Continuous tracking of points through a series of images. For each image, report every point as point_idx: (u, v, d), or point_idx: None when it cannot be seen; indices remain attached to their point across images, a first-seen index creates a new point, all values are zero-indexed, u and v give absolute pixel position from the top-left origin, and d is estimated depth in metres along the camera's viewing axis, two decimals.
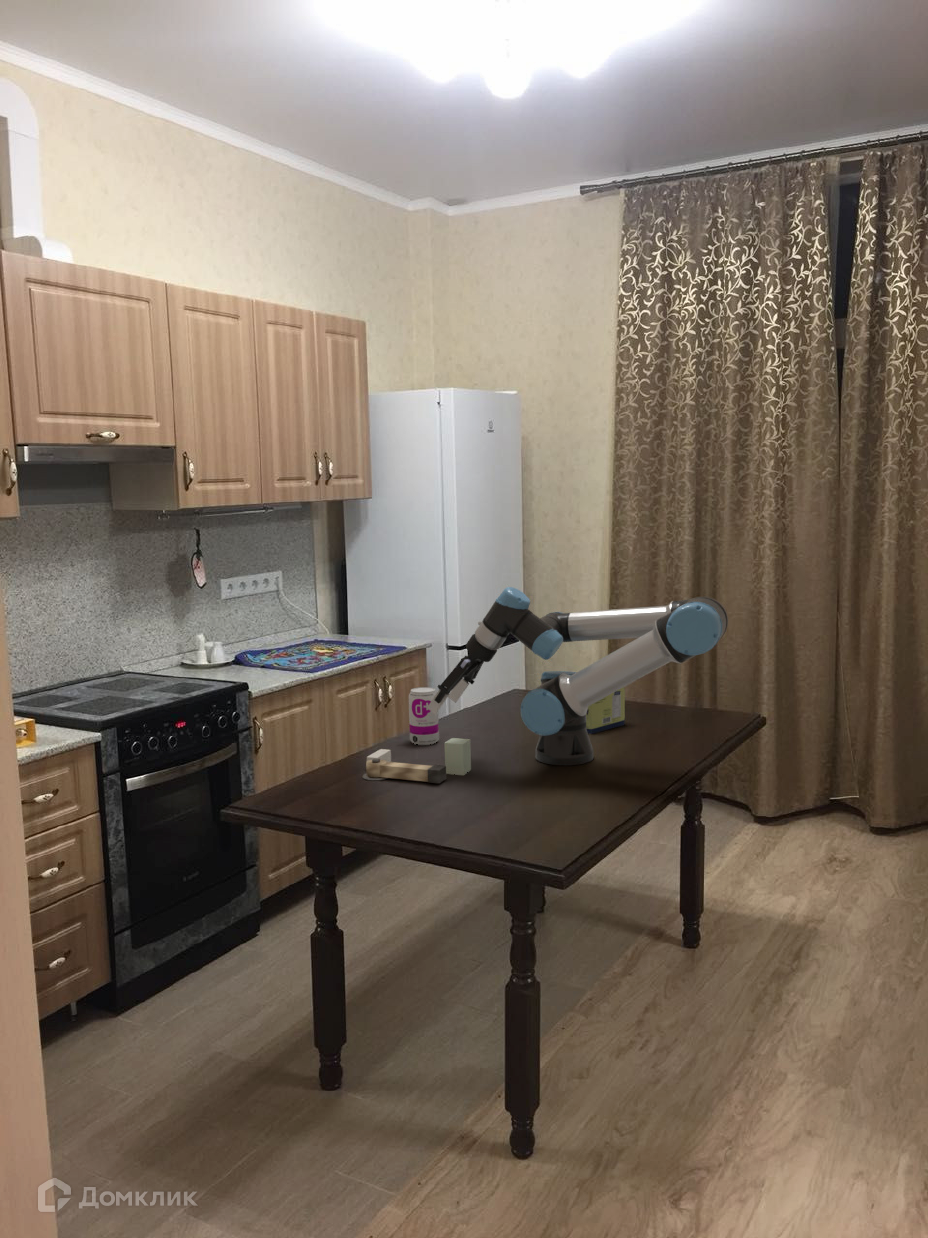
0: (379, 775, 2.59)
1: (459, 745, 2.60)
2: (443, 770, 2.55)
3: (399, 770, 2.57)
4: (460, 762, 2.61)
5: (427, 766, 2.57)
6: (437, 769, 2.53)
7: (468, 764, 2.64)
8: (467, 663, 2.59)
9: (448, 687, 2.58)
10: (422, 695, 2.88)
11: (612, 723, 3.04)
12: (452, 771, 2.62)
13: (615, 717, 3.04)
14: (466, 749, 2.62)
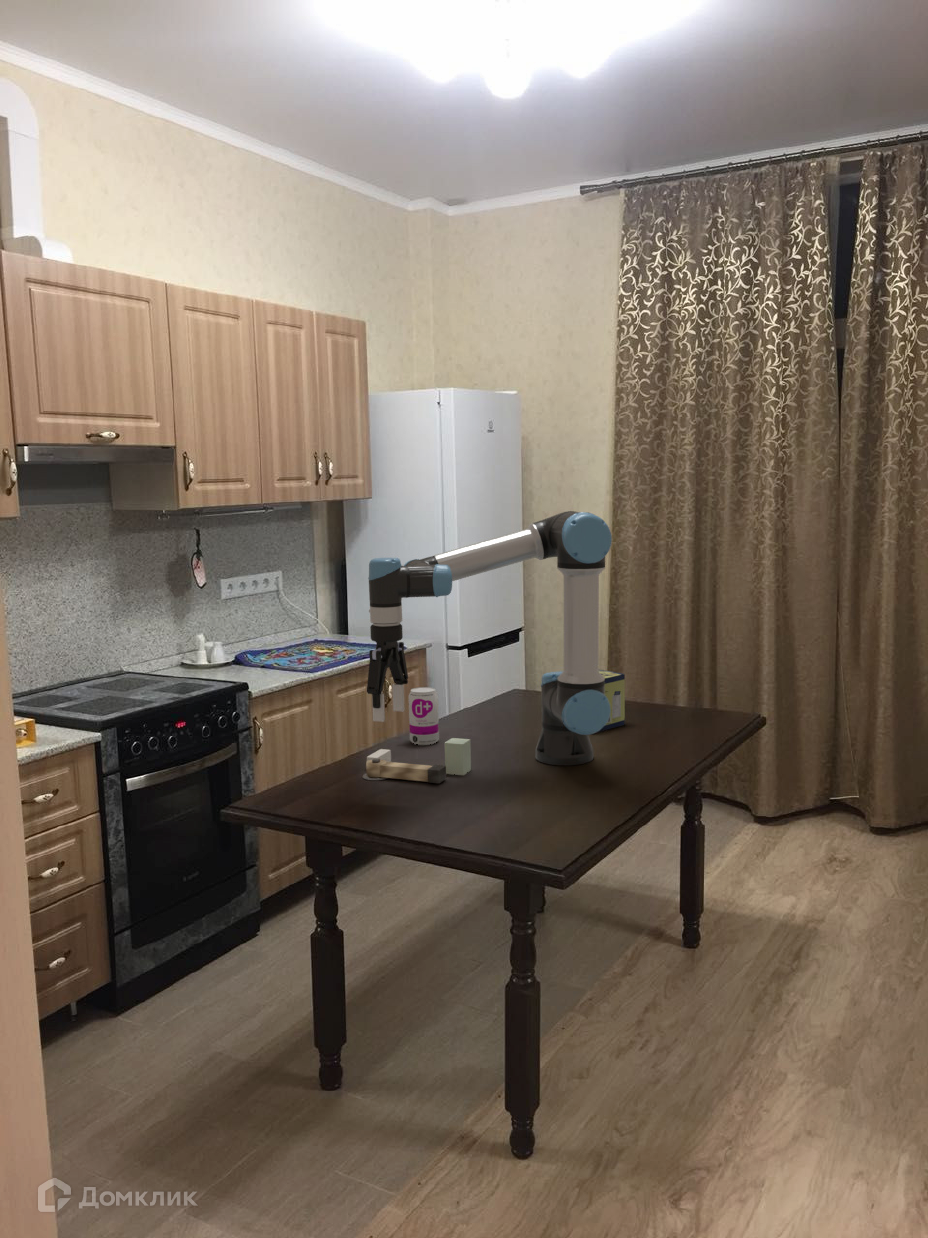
0: (379, 775, 2.59)
1: (459, 745, 2.60)
2: (443, 770, 2.55)
3: (399, 770, 2.57)
4: (460, 762, 2.61)
5: (427, 766, 2.57)
6: (437, 769, 2.53)
7: (468, 764, 2.64)
8: (376, 652, 2.40)
9: (374, 685, 2.39)
10: (422, 695, 2.88)
11: (612, 723, 3.04)
12: (452, 771, 2.62)
13: (615, 717, 3.04)
14: (466, 749, 2.62)
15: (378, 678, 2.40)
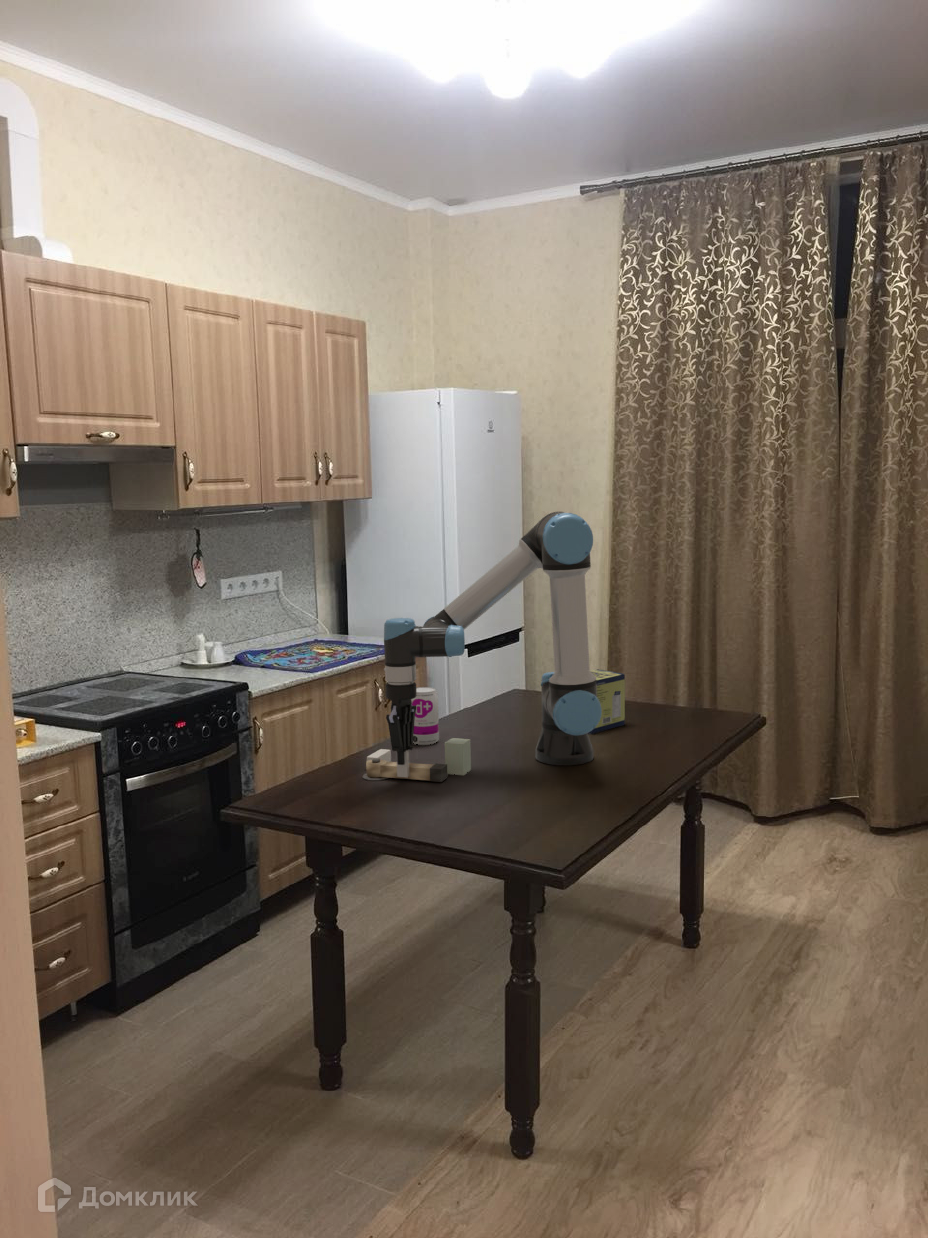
0: (380, 775, 2.59)
1: (459, 745, 2.60)
2: (444, 768, 2.56)
3: None
4: (460, 762, 2.61)
5: (428, 765, 2.58)
6: (439, 768, 2.54)
7: (468, 764, 2.64)
8: (393, 718, 2.48)
9: (398, 745, 2.52)
10: (422, 695, 2.88)
11: (612, 723, 3.04)
12: (452, 771, 2.62)
13: (615, 717, 3.04)
14: (466, 749, 2.62)
15: (400, 738, 2.51)
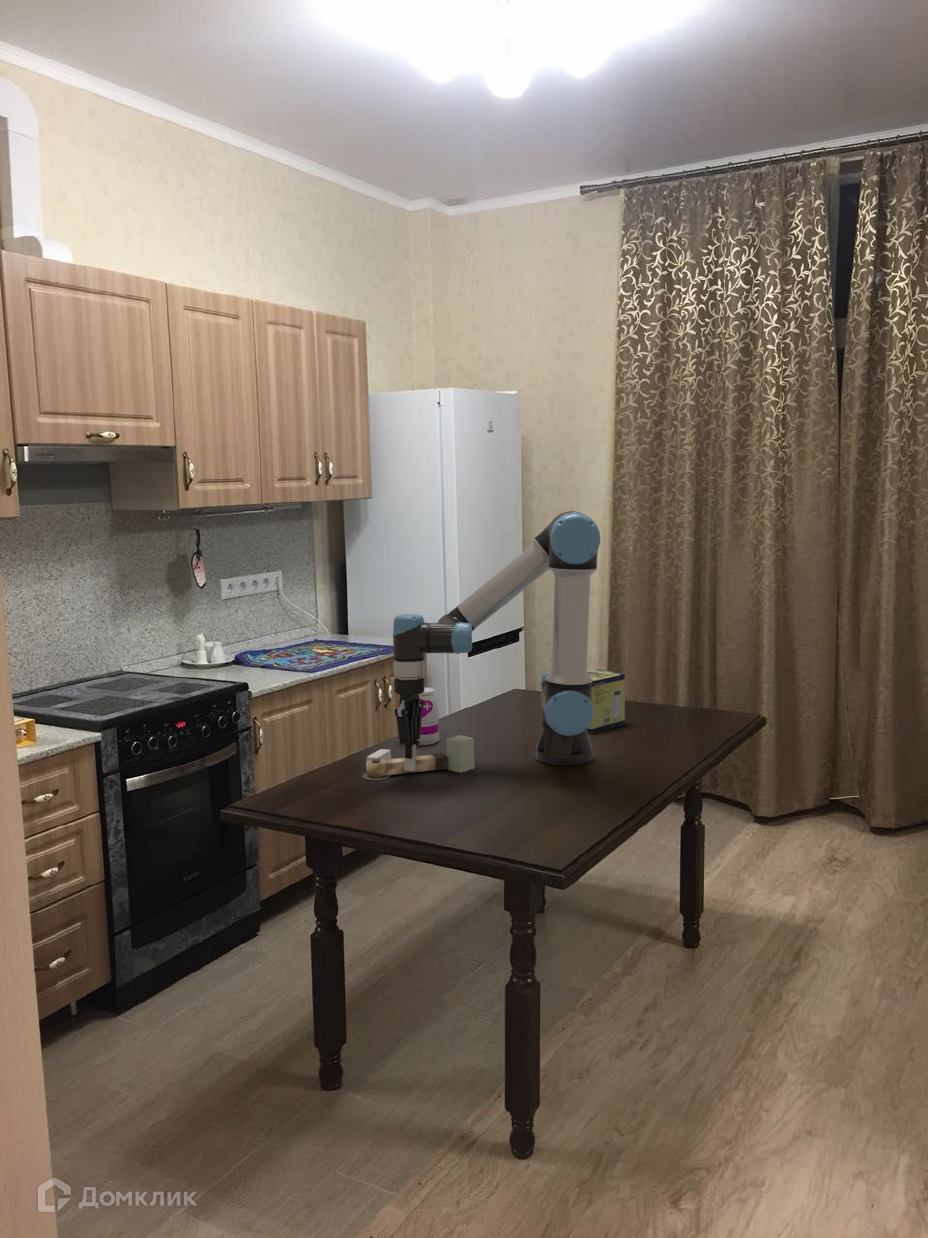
0: (385, 774, 2.60)
1: (457, 742, 2.62)
2: None
3: None
4: (458, 759, 2.63)
5: (427, 756, 2.66)
6: (443, 756, 2.65)
7: (469, 762, 2.65)
8: (401, 712, 2.53)
9: (406, 739, 2.56)
10: (422, 695, 2.88)
11: (612, 723, 3.04)
12: (452, 768, 2.65)
13: (615, 717, 3.04)
14: (466, 747, 2.64)
15: (408, 732, 2.56)
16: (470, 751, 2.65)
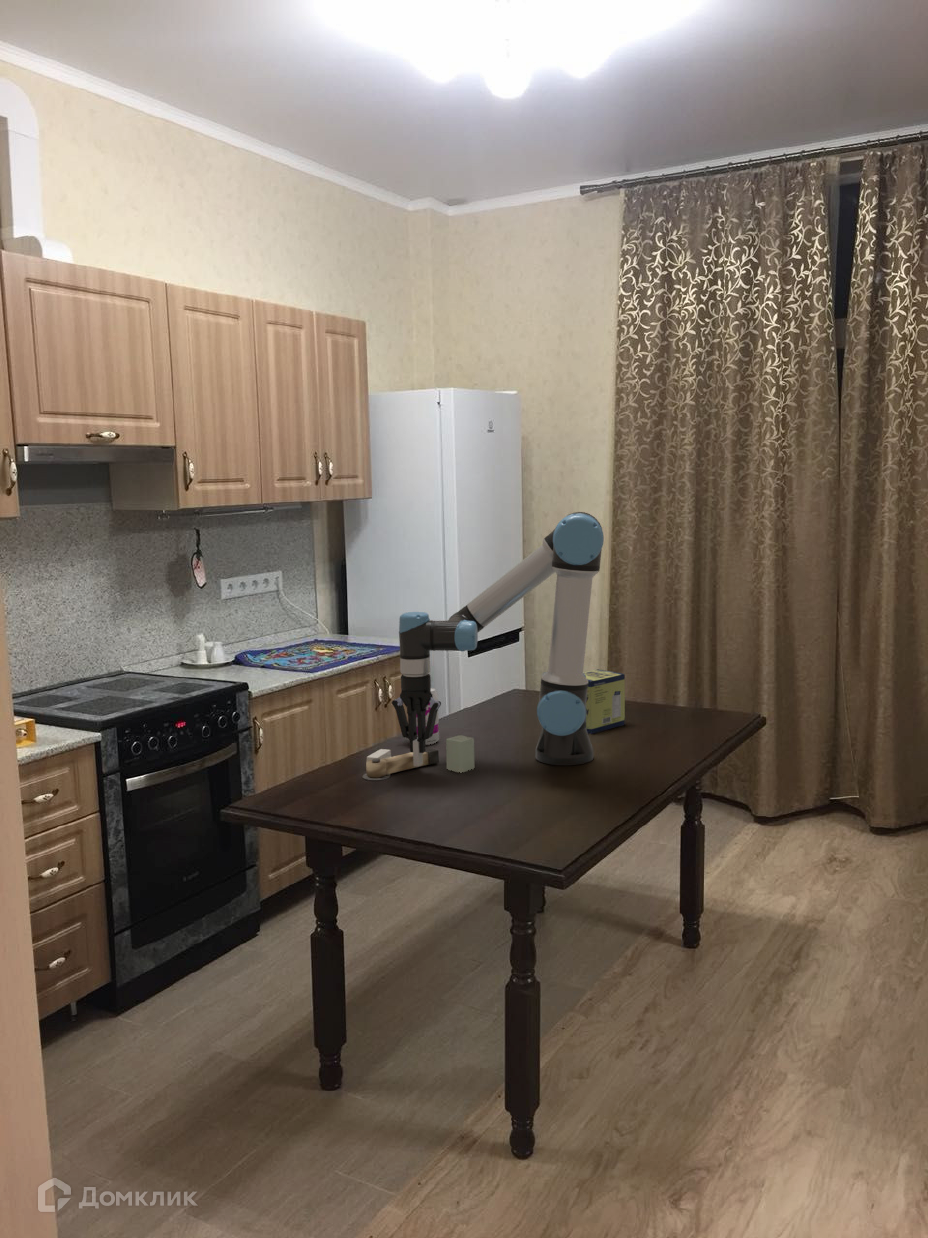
0: (386, 772, 2.61)
1: (457, 742, 2.62)
2: None
3: (403, 762, 2.64)
4: (458, 759, 2.63)
5: None
6: (434, 750, 2.71)
7: (470, 762, 2.65)
8: None
9: None
10: None
11: (612, 723, 3.04)
12: (452, 768, 2.65)
13: (615, 717, 3.04)
14: (466, 747, 2.64)
15: (401, 724, 2.64)
16: (470, 751, 2.65)
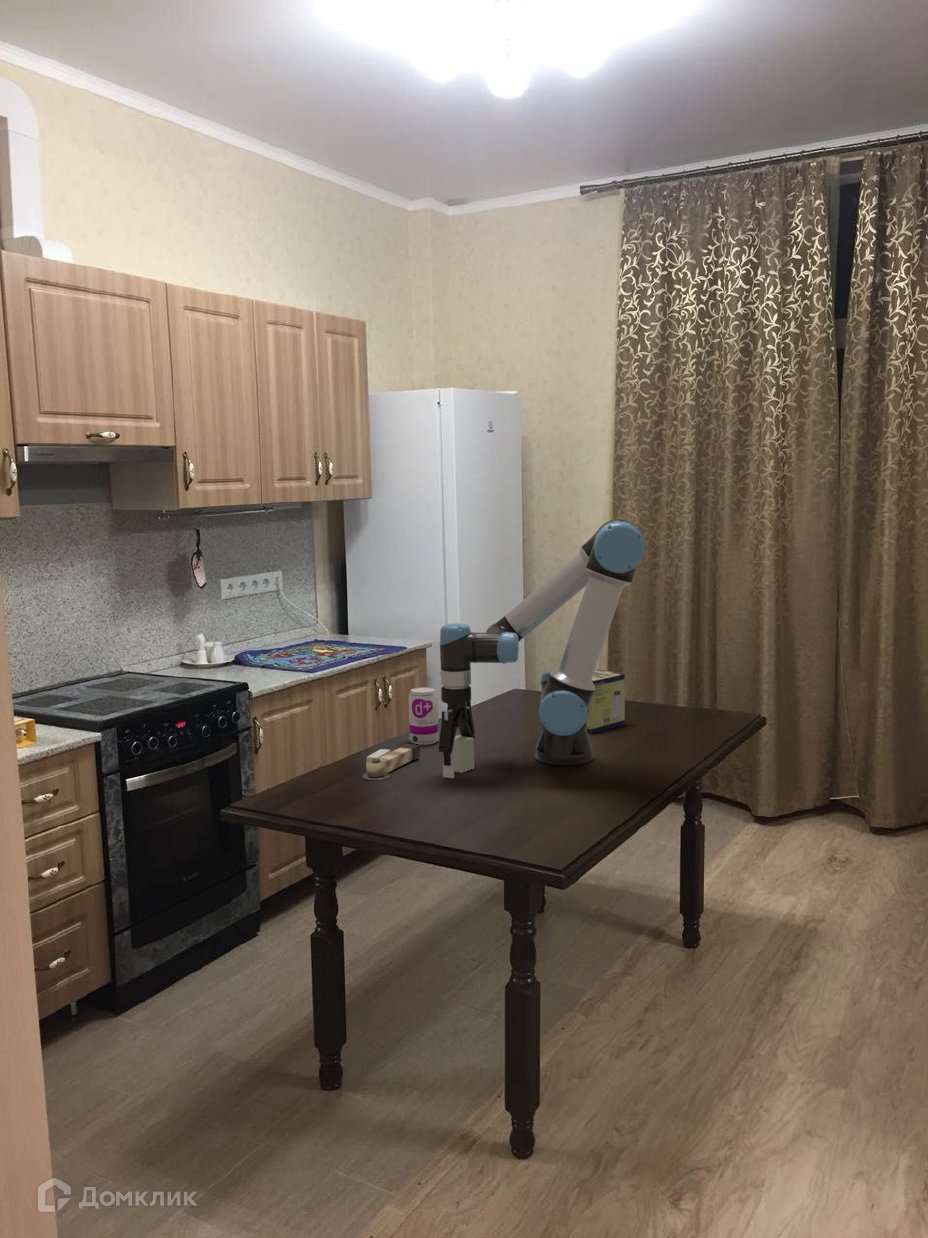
0: None
1: (457, 743, 2.62)
2: None
3: (397, 759, 2.67)
4: (458, 759, 2.63)
5: (401, 748, 2.73)
6: (415, 745, 2.75)
7: (469, 762, 2.65)
8: (448, 713, 2.55)
9: (446, 744, 2.54)
10: (422, 695, 2.88)
11: (612, 723, 3.04)
12: None
13: (615, 717, 3.04)
14: (466, 748, 2.64)
15: (449, 738, 2.55)
16: (470, 751, 2.65)
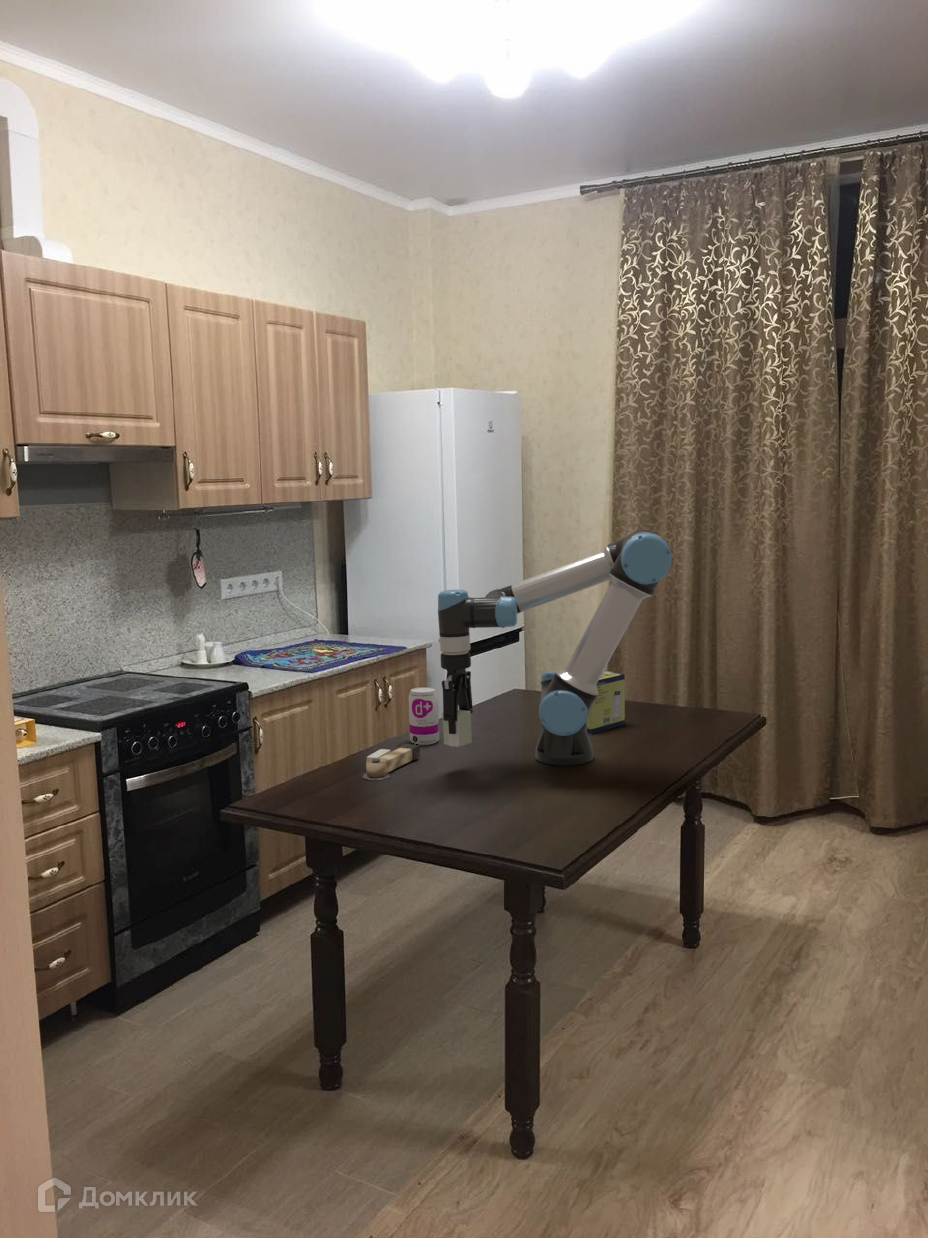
0: None
1: None
2: None
3: (397, 759, 2.67)
4: None
5: (401, 748, 2.73)
6: (415, 745, 2.75)
7: (467, 736, 2.62)
8: (448, 683, 2.54)
9: (450, 713, 2.55)
10: (422, 695, 2.88)
11: (612, 723, 3.04)
12: None
13: (615, 717, 3.04)
14: (463, 721, 2.61)
15: (453, 706, 2.55)
16: (467, 724, 2.62)
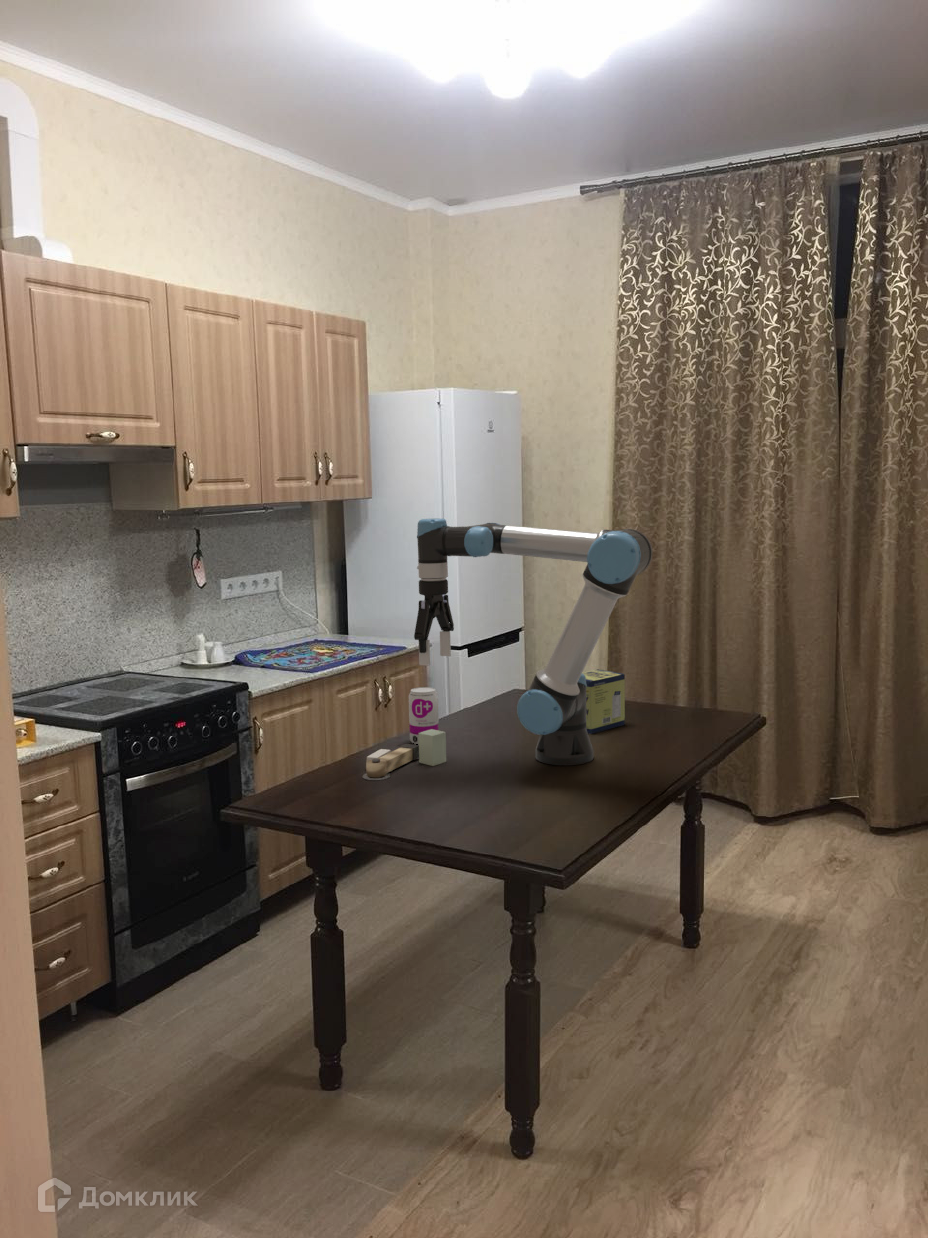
0: None
1: (429, 736, 2.69)
2: None
3: (397, 759, 2.67)
4: (431, 752, 2.70)
5: (401, 748, 2.73)
6: (415, 745, 2.75)
7: (441, 756, 2.72)
8: (425, 601, 2.62)
9: (422, 631, 2.60)
10: (422, 695, 2.88)
11: (612, 723, 3.04)
12: (425, 761, 2.71)
13: (615, 717, 3.04)
14: (438, 741, 2.71)
15: (425, 625, 2.61)
16: (442, 744, 2.72)
